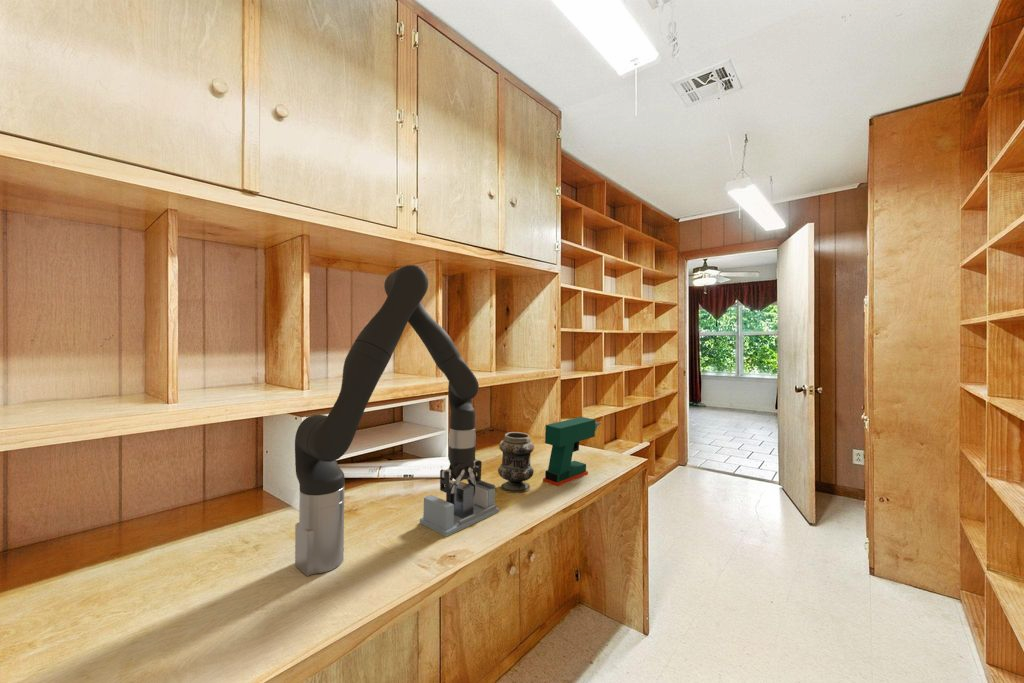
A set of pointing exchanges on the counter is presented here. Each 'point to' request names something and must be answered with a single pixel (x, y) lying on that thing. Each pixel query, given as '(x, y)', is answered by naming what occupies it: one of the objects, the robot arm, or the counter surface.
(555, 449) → the power tool
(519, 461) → the apothecary jar
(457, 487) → the block
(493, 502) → the free jaw
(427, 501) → the vise base
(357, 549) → the counter surface
